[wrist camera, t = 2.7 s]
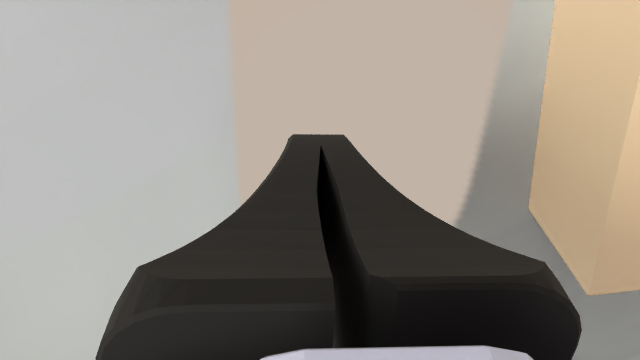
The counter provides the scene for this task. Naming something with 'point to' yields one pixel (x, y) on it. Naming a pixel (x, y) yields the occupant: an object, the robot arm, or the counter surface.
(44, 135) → the counter surface
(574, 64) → the carton
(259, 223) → the robot arm
